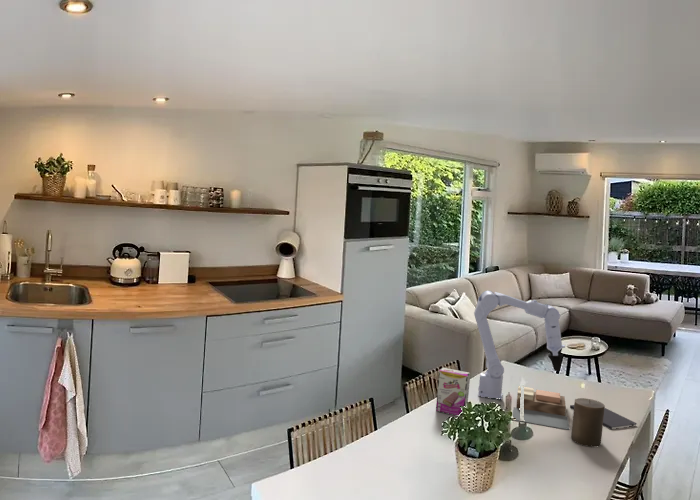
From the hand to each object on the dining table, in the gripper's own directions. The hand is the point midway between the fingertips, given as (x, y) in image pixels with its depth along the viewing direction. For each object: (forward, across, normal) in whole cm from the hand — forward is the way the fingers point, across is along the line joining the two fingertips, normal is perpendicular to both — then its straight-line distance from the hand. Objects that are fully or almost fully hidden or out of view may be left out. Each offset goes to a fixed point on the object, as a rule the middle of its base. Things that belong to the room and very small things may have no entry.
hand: (557, 367), depth 224 cm
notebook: (+18, -9, -14) cm, 25 cm away
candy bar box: (+6, -32, +39) cm, 51 cm away
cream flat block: (+8, -10, +13) cm, 18 cm away
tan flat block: (+13, -10, +8) cm, 18 cm away
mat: (+12, -22, +8) cm, 27 cm away
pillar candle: (+15, -36, -7) cm, 39 cm away
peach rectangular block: (+9, -10, +5) cm, 14 cm away
